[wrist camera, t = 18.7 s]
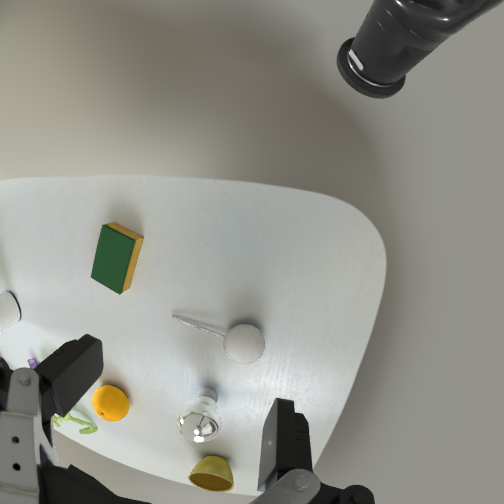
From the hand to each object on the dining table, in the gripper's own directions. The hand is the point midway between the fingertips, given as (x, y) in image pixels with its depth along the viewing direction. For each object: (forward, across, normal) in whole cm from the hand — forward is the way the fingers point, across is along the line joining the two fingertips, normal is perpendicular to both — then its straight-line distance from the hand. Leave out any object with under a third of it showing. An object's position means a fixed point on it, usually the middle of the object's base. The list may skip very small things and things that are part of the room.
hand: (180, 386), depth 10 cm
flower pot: (+28, -5, +51) cm, 58 cm away
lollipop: (+27, +9, +13) cm, 32 cm away
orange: (+28, +20, +37) cm, 51 cm away
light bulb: (+28, 0, +26) cm, 39 cm away
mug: (+28, +54, +28) cm, 67 cm away
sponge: (+28, +19, +6) cm, 34 cm away
